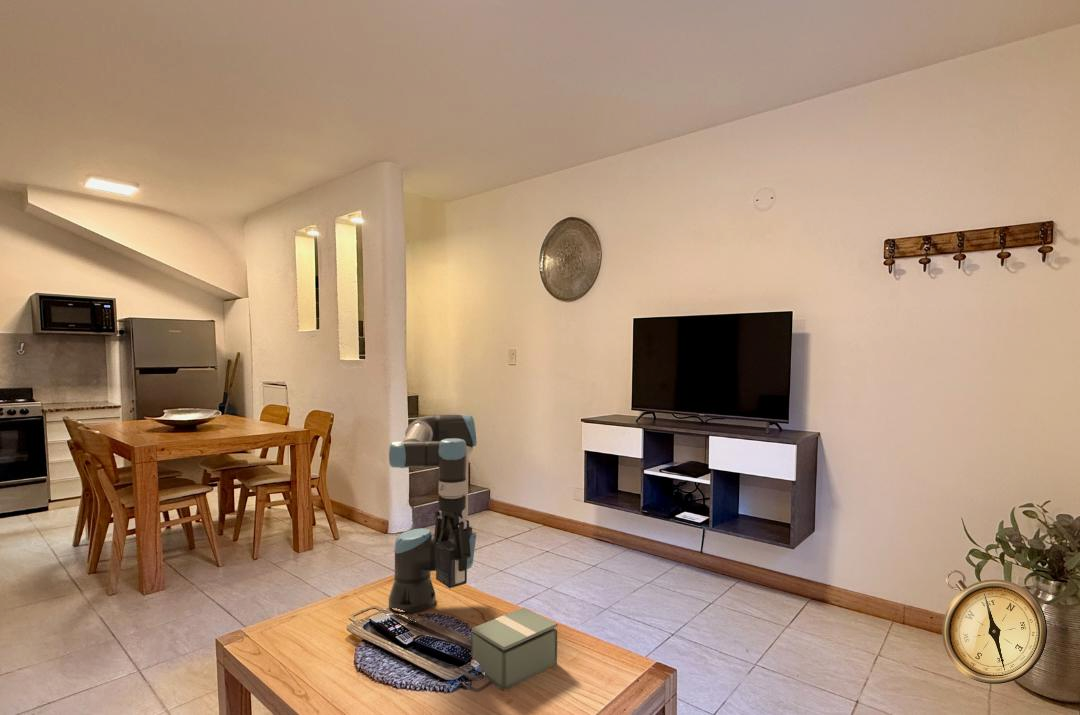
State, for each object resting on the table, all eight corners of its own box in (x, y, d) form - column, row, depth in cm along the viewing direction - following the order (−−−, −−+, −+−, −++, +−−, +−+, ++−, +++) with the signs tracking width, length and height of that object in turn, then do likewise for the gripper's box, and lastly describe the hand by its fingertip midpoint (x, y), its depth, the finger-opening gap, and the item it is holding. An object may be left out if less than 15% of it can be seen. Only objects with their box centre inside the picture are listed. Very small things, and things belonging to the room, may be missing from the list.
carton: (470, 665, 138) (471, 632, 138) (523, 642, 150) (523, 611, 150) (503, 690, 128) (503, 654, 128) (556, 663, 140) (557, 630, 140)
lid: (471, 631, 138) (471, 627, 138) (524, 610, 150) (524, 607, 150) (504, 650, 128) (504, 646, 128) (557, 626, 140) (557, 623, 140)
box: (467, 583, 145) (467, 545, 145) (449, 589, 141) (449, 550, 141) (452, 574, 151) (453, 537, 151) (435, 579, 147) (435, 541, 147)
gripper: (421, 489, 151) (420, 568, 151) (461, 505, 136) (460, 593, 136) (444, 485, 156) (443, 562, 156) (485, 500, 141) (484, 585, 141)
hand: (451, 576), depth 146 cm, fingers closed on box, 8 cm apart
